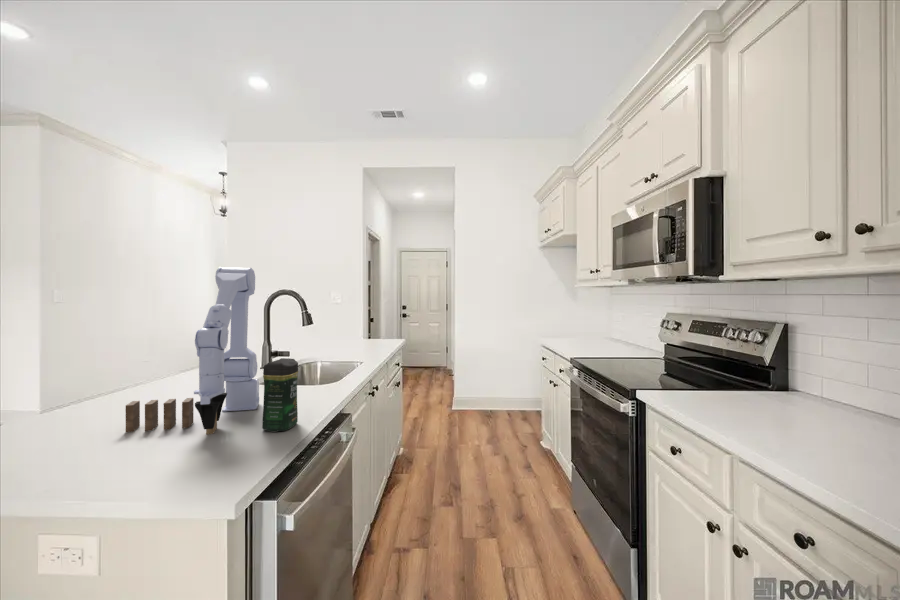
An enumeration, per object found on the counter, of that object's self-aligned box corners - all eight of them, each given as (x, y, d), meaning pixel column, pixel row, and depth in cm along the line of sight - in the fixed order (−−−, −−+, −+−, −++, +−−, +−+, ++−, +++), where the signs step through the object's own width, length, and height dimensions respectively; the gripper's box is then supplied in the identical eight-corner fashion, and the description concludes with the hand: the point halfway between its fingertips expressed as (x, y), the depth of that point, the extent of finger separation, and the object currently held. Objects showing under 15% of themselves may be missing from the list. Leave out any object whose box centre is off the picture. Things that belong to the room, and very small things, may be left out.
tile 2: (193, 422, 118) (193, 397, 118) (188, 427, 114) (188, 401, 114) (186, 423, 118) (186, 398, 118) (182, 428, 114) (182, 402, 113)
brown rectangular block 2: (175, 423, 117) (175, 398, 117) (170, 429, 113) (170, 402, 113) (169, 424, 117) (169, 399, 116) (163, 429, 112) (163, 403, 112)
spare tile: (216, 428, 114) (217, 402, 114) (213, 433, 110) (213, 406, 109) (210, 428, 113) (210, 402, 113) (206, 434, 109) (206, 407, 109)
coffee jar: (287, 433, 111) (287, 362, 110) (257, 432, 111) (258, 361, 111) (302, 422, 120) (302, 356, 120) (274, 421, 121) (275, 356, 120)
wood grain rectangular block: (139, 426, 114) (139, 400, 114) (132, 431, 110) (132, 405, 110) (132, 427, 114) (132, 401, 114) (125, 432, 110) (125, 405, 110)
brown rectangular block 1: (158, 425, 116) (158, 399, 116) (152, 430, 111) (151, 404, 111) (151, 425, 115) (151, 400, 115) (144, 431, 111) (144, 404, 111)
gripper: (201, 368, 117) (201, 417, 117) (186, 379, 103) (186, 435, 103) (230, 367, 119) (229, 415, 119) (218, 378, 105) (218, 432, 105)
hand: (211, 424), depth 111 cm, fingers open, 6 cm apart
